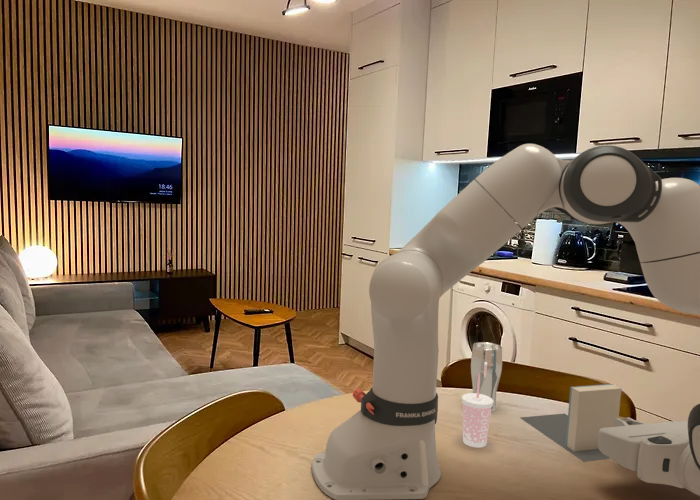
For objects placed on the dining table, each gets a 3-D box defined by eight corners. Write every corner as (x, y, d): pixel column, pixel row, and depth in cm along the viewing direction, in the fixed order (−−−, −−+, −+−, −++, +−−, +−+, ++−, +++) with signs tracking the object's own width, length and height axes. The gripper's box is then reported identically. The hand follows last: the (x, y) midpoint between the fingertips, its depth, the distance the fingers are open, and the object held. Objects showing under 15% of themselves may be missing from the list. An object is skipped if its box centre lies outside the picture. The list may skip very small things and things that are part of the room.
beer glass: (502, 415, 117) (507, 350, 116) (471, 413, 117) (476, 349, 116) (494, 403, 124) (498, 342, 123) (465, 402, 124) (469, 341, 123)
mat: (583, 463, 96) (583, 461, 96) (519, 419, 116) (519, 417, 115) (634, 457, 100) (635, 455, 100) (564, 415, 119) (564, 413, 119)
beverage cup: (466, 450, 100) (471, 379, 98) (454, 436, 106) (458, 369, 104) (495, 448, 101) (501, 378, 100) (481, 434, 107) (486, 368, 106)
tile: (574, 451, 100) (579, 391, 99) (565, 445, 103) (570, 386, 102) (615, 446, 103) (621, 388, 102) (606, 440, 106) (611, 384, 104)
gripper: (739, 433, 85) (666, 401, 98) (640, 444, 79) (577, 408, 92) (734, 470, 86) (662, 433, 99) (636, 483, 80) (574, 442, 93)
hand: (620, 421), depth 96 cm, fingers closed
